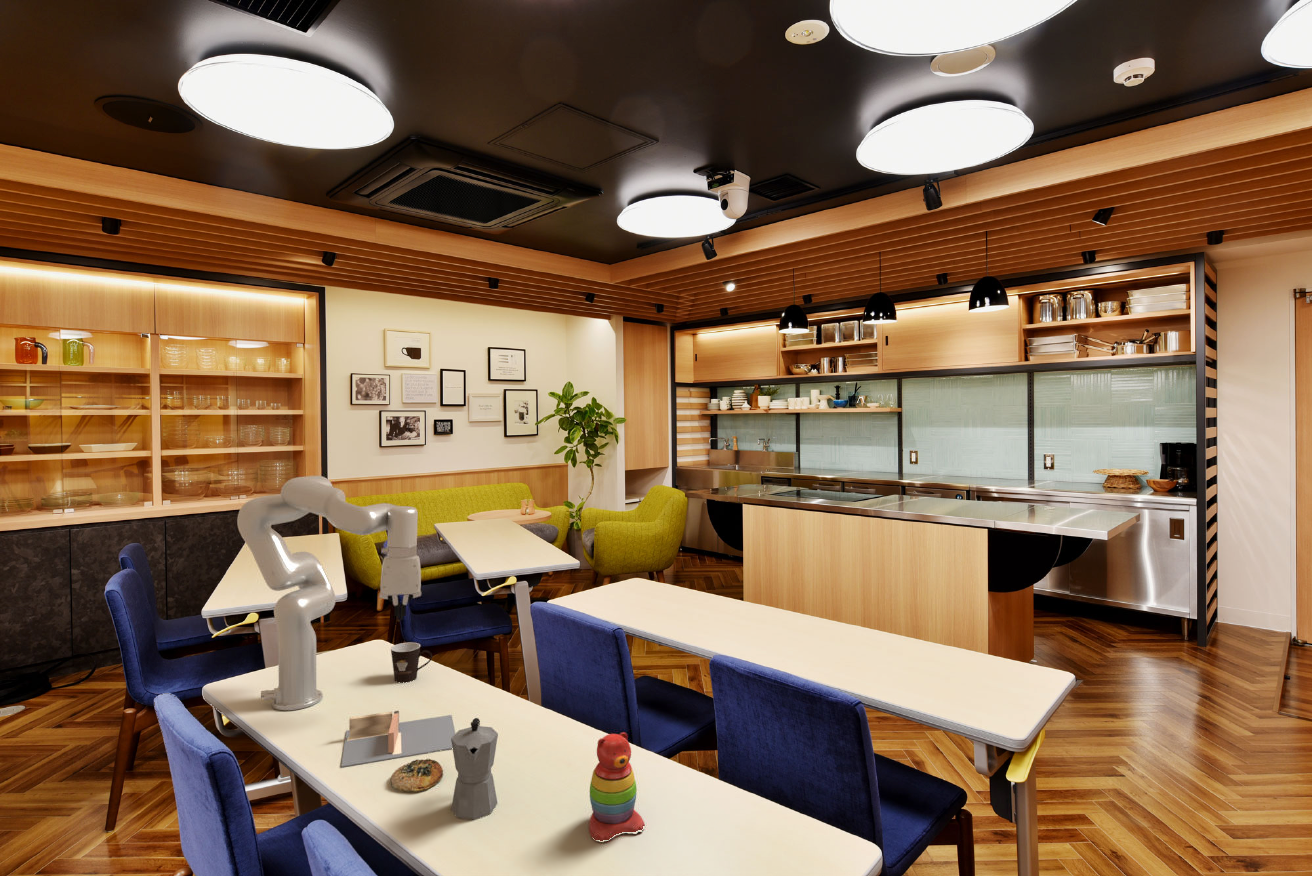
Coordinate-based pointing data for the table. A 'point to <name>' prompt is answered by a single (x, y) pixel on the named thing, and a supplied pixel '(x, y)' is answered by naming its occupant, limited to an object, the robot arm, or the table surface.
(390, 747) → the folding fence panel
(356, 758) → the card
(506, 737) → the table surface
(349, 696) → the table surface
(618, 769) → the stacking bear
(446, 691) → the table surface
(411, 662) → the coffee mug
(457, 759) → the coffeepot
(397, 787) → the bread roll
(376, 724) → the fixed fence section
